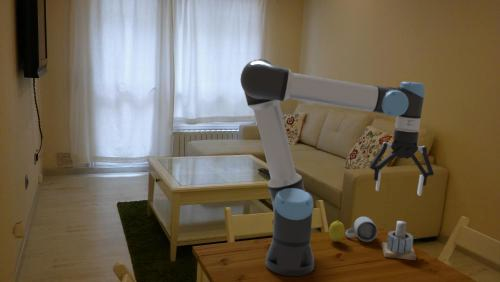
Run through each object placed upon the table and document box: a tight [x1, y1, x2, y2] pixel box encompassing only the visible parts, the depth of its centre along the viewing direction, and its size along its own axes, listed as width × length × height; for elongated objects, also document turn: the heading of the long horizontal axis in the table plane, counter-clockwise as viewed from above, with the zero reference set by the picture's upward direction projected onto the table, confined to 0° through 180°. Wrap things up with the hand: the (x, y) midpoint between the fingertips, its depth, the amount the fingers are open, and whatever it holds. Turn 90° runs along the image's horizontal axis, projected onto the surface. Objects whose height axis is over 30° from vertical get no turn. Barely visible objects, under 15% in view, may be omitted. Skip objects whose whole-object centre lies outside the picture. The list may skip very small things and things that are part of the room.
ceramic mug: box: [345, 216, 379, 243], centre depth 170 cm, size 11×8×8 cm
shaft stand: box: [381, 220, 417, 261], centre depth 158 cm, size 10×9×11 cm
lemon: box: [328, 220, 346, 243], centre depth 165 cm, size 6×6×8 cm
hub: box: [386, 230, 414, 254], centre depth 158 cm, size 8×8×5 cm
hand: (397, 192), depth 154 cm, fingers open, 13 cm apart
